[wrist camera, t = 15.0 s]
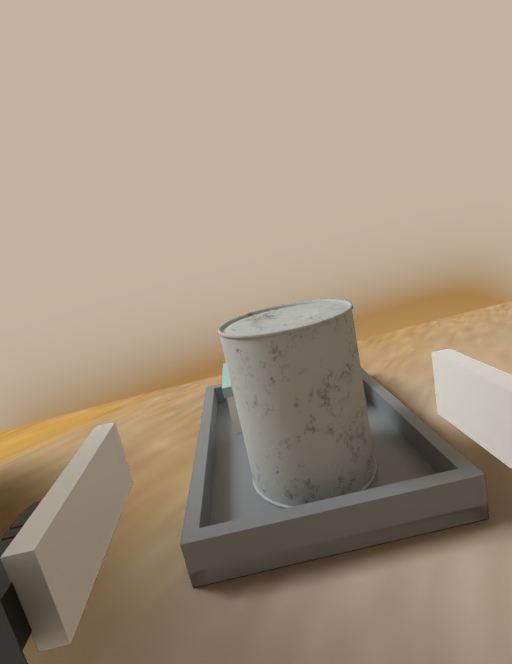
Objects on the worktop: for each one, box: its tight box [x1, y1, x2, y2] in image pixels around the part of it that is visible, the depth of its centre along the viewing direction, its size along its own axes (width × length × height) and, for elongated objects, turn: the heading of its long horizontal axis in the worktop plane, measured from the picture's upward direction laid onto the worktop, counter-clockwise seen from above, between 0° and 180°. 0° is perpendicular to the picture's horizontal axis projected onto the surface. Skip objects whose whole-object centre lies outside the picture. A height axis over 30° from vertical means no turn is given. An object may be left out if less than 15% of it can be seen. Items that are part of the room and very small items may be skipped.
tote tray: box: [180, 368, 489, 588], centre depth 35 cm, size 26×18×3 cm
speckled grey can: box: [218, 299, 377, 509], centre depth 28 cm, size 10×10×12 cm
